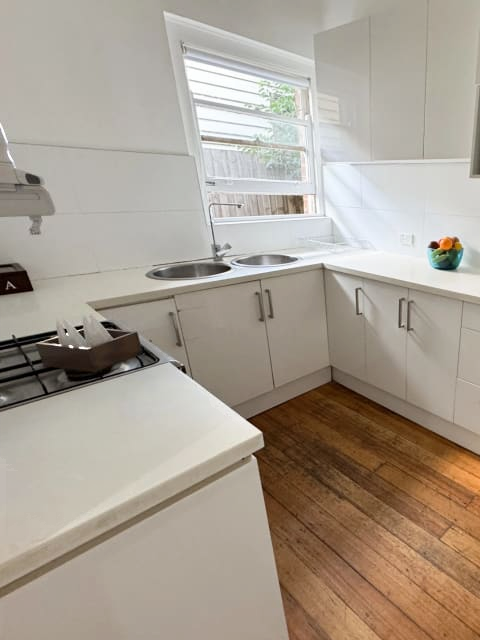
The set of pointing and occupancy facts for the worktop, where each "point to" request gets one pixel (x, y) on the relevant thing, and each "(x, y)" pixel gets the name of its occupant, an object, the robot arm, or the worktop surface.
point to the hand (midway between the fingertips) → (14, 236)
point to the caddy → (90, 352)
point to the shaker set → (91, 331)
